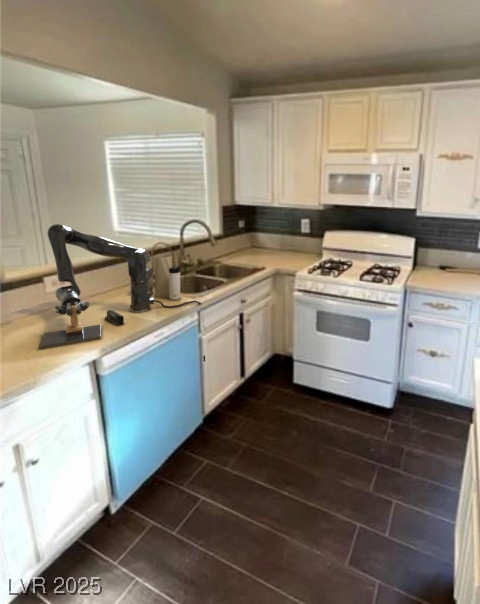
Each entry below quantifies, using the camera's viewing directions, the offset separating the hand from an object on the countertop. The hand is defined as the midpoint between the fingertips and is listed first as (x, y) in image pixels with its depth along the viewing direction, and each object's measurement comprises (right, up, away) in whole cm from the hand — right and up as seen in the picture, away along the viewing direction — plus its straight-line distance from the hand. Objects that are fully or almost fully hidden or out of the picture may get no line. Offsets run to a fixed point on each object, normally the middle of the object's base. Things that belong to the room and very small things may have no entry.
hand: (74, 313), depth 157 cm
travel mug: (+24, -6, +57) cm, 62 cm away
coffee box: (+3, -5, +63) cm, 63 cm away
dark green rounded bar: (+6, -10, +22) cm, 25 cm away
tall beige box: (+14, -5, +63) cm, 65 cm away
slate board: (-3, -12, +3) cm, 13 cm away
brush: (-2, -10, +4) cm, 11 cm away
